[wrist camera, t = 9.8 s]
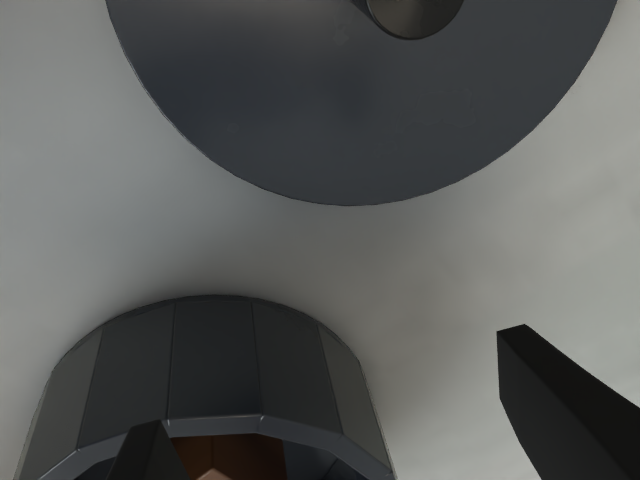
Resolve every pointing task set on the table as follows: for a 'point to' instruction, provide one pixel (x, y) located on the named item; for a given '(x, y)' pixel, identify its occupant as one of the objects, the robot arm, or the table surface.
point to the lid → (357, 85)
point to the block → (232, 457)
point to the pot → (209, 390)
